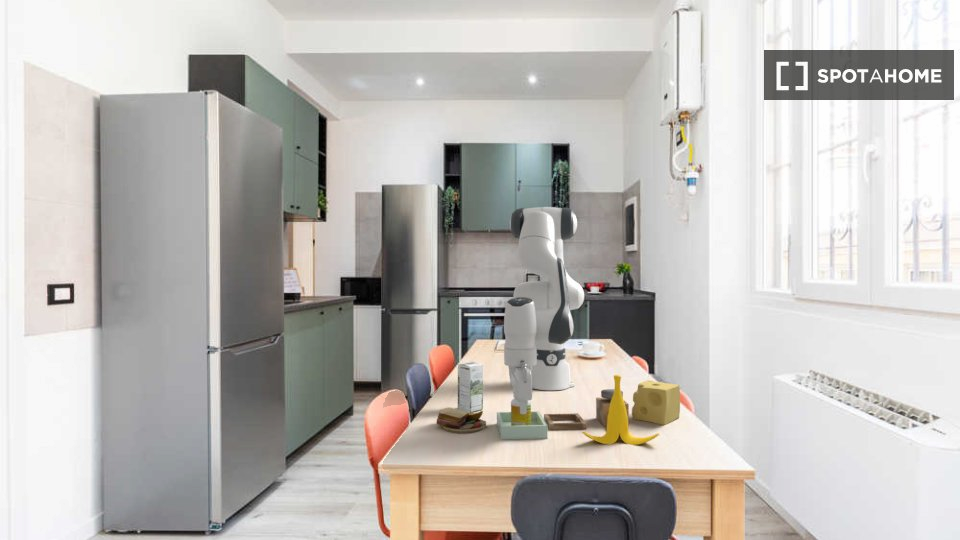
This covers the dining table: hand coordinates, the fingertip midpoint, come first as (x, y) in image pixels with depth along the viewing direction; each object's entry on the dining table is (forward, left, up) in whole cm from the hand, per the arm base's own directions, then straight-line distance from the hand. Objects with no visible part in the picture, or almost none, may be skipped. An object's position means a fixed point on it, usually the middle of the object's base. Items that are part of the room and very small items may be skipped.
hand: (520, 408), depth 147 cm
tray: (0, 0, -6) cm, 6 cm away
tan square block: (-6, +27, -6) cm, 28 cm away
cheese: (-9, +41, -6) cm, 42 cm away
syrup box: (-22, -13, -6) cm, 26 cm away
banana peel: (+10, +26, -6) cm, 29 cm away
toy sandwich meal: (-4, -16, -6) cm, 18 cm away
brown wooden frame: (-5, +13, -6) cm, 15 cm away
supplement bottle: (0, 0, -5) cm, 5 cm away
